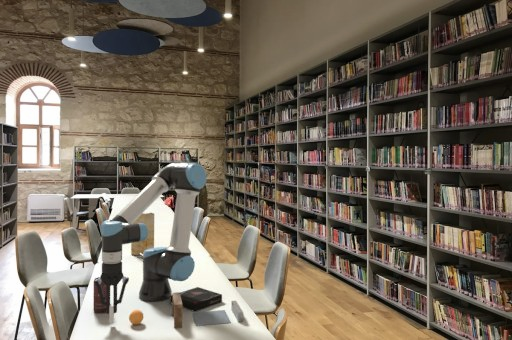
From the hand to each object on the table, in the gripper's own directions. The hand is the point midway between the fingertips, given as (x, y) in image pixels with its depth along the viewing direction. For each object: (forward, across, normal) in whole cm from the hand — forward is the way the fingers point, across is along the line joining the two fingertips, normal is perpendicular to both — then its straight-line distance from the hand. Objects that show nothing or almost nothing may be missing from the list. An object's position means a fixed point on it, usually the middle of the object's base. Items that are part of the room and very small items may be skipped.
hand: (111, 321), depth 163 cm
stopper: (+2, +50, 0) cm, 50 cm away
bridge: (+2, +25, 0) cm, 25 cm away
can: (+2, -6, +18) cm, 19 cm away
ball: (-1, +9, 0) cm, 9 cm away
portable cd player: (+3, +35, +20) cm, 41 cm away
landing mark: (+2, +39, 0) cm, 39 cm away
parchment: (+2, +10, +112) cm, 112 cm away
